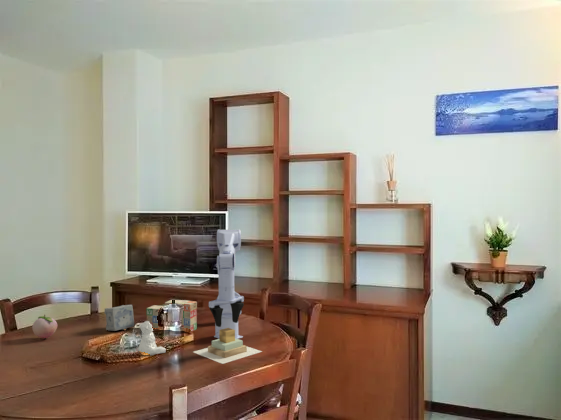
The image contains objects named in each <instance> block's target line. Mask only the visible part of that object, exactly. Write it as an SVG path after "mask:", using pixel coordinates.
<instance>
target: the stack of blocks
mask: <svg viewBox="0 0 561 420" xmlns="http://www.w3.org/2000/svg"><path fill="white" fill-rule="evenodd" d="M172 300H173V299H170V300H168V301H165V302H164V305H155V304H154V305H151V306H149V307H146V321H149V323H150V324H151V325H152V327H153V328H158V327H159V326H158V320H157V316H158V312H159V310H160V308H161V307H163V306H165V305H169V304H172ZM174 300H175V303H177V304H182V305H183V306H184V310H183V319H182V326H183V327H184V328H188V329H190V330H191V331H192V332H194V331H196V330H197V329H198V322H197V321H198V319H197V318H198V306H197V305H198V302H197V301H193V300H186V299H184V300H183V299H182V300H181V299H174Z"/></svg>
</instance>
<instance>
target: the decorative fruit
mask: <svg viewBox="0 0 561 420" xmlns="http://www.w3.org/2000/svg"><path fill="white" fill-rule="evenodd" d="M31 329H32V332H33V334H34V335H35V336H37V337H38V338H40V339H44V338H47V339H48V338H50V337H52V336H53V335H54V333H56V331H57V329H58V323H57V321H56V319H55V318H52V317H48V316H46V314H44V315H41V316H38V317H37V319H36V320H35V321H34V322H33V324H32V327H31Z"/></svg>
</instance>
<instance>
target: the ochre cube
mask: <svg viewBox="0 0 561 420" xmlns="http://www.w3.org/2000/svg"><path fill="white" fill-rule="evenodd" d="M218 339H219V341H221V342H224V343H229V342H232V341H235V330H234V329H230V328H225V329H221V330H219V338H218Z"/></svg>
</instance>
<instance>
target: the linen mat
mask: <svg viewBox="0 0 561 420" xmlns="http://www.w3.org/2000/svg"><path fill="white" fill-rule="evenodd" d="M262 352H263V351H262V350H259V349H256V348H254V347H250V346H247V352H244V353H240V354H237V355H234V356H230V357H227V358H223V357H220V356H218V355H215V354H212V353H210V352H208V347H205V348H202V349H199V350H194V351H193V353H194V354H197V355H199V356H201V357H204V358H207V359H210V360H212V361H214V362H216V363H219V364H222V365H224V364H226V363H227V364H228V363H230V362H234V361H237V360H240V359H242V358H243V359H244V358H247V357H250V356H253V355H257V354H259V353H262Z"/></svg>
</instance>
